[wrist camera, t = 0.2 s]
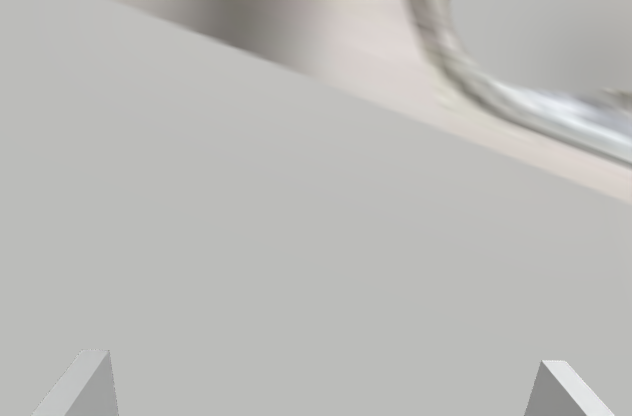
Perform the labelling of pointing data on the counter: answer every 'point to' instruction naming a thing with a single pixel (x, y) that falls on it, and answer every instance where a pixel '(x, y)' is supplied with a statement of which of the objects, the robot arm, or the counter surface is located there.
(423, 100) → the counter surface
